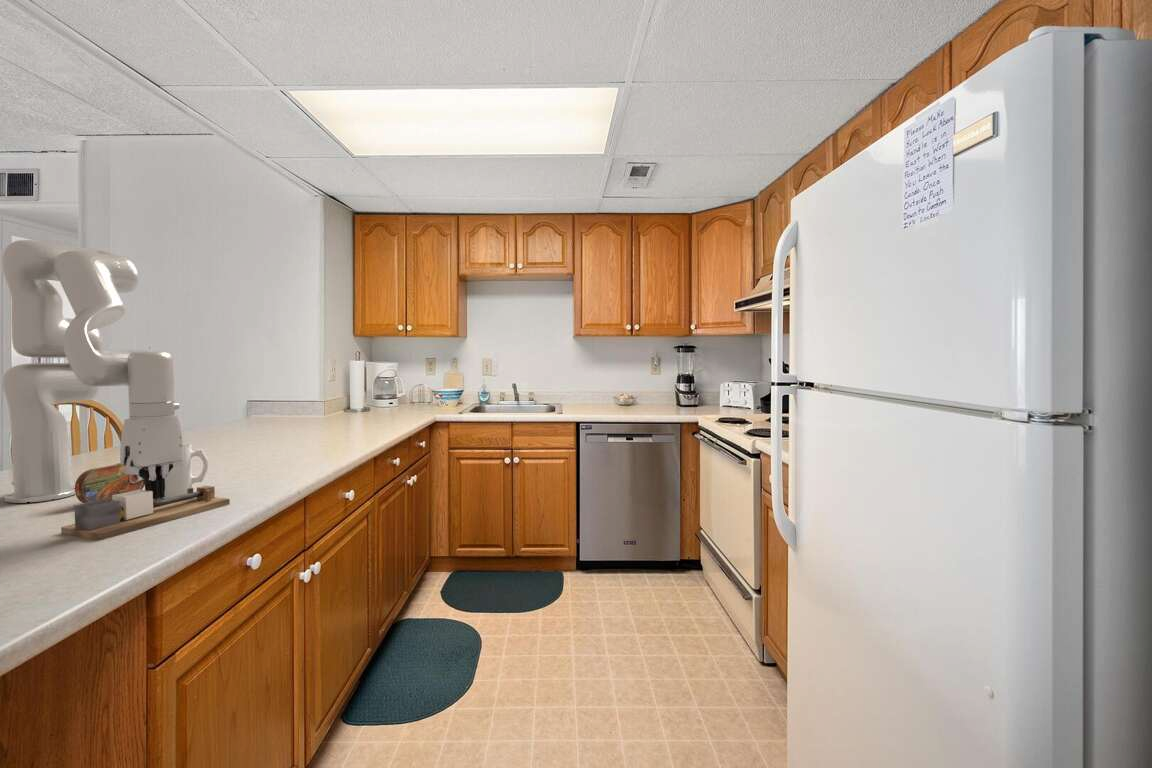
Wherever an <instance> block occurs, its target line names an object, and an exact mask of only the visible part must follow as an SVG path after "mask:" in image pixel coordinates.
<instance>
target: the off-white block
mask: <svg viewBox="0 0 1152 768" xmlns="http://www.w3.org/2000/svg"><path fill="white" fill-rule="evenodd" d="M112 500H116V501H119V507H121V508H122V509H124V519H125V520H128V519H131V518H135V517H139V516H143V515H147V514H151V513H153V502H154V499H153V491H146V490H145V489H142V490H135V491H130V492H126V493H121V494H116V495H112Z"/></svg>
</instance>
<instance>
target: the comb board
mask: <svg viewBox="0 0 1152 768" xmlns="http://www.w3.org/2000/svg"><path fill="white" fill-rule="evenodd" d="M230 502H231V501H230V498H225V497H217V496H216V497H215V486H214V485H213V486H212V485H201V486H198V487H197V486H196V491H194V487H192V488H188V489H187V494H185V495H181V496H177V497H172V498H168V499H160V500H157V501H153V513H151V514H147V515H143V516H139V517H135V518H131V519H128V520H125V519H124V509H122V508H121V507H119V501H116V500H109V499H101V500H97V501H92V502H88V503H79V504H74V505H73V506H74V507H73V508H74V511H73V512H74V523H72V524H68V525H64V526H61V527H60V532H61V534H62V533H63V534H64V535H69V536H74V537H80V538H86V539H92V540H97V541H101V540H105V539H109V538H112V537H116V536H120V535H122V534H126V533H130V532H134V531H138V530H141V528H142V529H145V528H148V526H149V527H152V526H155V524H156V525H159V524H158V523H160V524H163V523H166V521H167V522H170V521H174V520H176V519H180V518H181V519H182V518H185V517H189V516H191V515H196V514H198V513H199V514H200V513H203V512H207V511H209V510H213V508H214V509H218V508H221V507H224V505H225V506H228V505H230V504H231V503H230ZM217 507H218V508H217ZM188 515H189V516H188ZM162 522H163V523H162ZM151 525H152V526H151ZM144 527H145V528H144ZM63 534H62V535H63Z"/></svg>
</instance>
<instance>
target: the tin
mask: <svg viewBox="0 0 1152 768" xmlns="http://www.w3.org/2000/svg"><path fill="white" fill-rule="evenodd" d="M125 467H126V466H123V465H122V464H121V462H119V463H113V464H109V465H104V466H99V467H96V468H91V469H88V470H85V471H83V472H82V473H81V474H80V475H79V476H78V477H77V478H76V481H75V483H74V486H75V493H76V494H75V496H76V499H78V501H79V502H81V504H83V503H88V502H92V501H97V500H101V499H109V500H112V495H116V494H121V493H126V492H130V491H135V490H144V488H145V480H143V479H142V478H141V477H140V476H139V475H136V474H126V473H125ZM136 468H138V467H136Z"/></svg>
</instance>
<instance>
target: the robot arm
mask: <svg viewBox="0 0 1152 768" xmlns="http://www.w3.org/2000/svg"><path fill="white" fill-rule="evenodd" d="M1 264H2V266H1V267H2V272H3V275H4V278H5V281H6V283H7V286H8V288H9V292H10V297H11V338H12V339H11V342H12V346H13V349H14V350H15V352H16V353H17V354H18V355H20V356H23V357H27V358H28V357H29V358H44V359H45V358H53V359H54V358H58V359H59V358H66V360H67V361H68V362H66V363H65V362H61V363H60V362H41V363H40V362H35V363H34V362H33V363H21V364H17V365H15V366H12V367H10V368H8V369H7V370H6V371H5V372H4V373H3V376H2V388H3V391H4V394H5V395H4V396H5V399H6V403H7V405H8V411H9V419H10V420H9V421H10V437H11V452H12V454H11V455H12V457H11V458H12V471H13V473H12V474H13V481H11V485H12V486H13V492H11V493H8V494H6V495H5V496H4V501H5V502H6V503H9V502H10V504H27V502H30V503H40V502H46V501H54V500H59V499H64V498H67V497H71V496H74V495H76V493H75V485H71V482H70V478H71V477H70V459H69V458H70V457H69V454H70V453H69V438H68V437H69V436H68V435H69V434H68V423H67V422H68V421H67V419H66V418H65V416H64V415H63V413H62V412H61V411H59V409H58V408H57V407H55V406H54V404H59V403H73V402H76V403H77V402H84V401H85V402H86V401H90V400H93V399H95V398H97V397H98V395H99V394H100V393H101V391H102V388H103V387H118V386H119V387H120V386H127V388H128V410H129V411H128V416H129V418H125V419H124V421H123V425H122V430H121V437H120V447H119V448H120V451H119V453H120V455H119V460H120V463H121V464H122V465H123V466H126V467H125V473H126V474H136V475H139V476H140V477H141V478H142V479H143V480H145V485H144V490H146V491H153V500H157V499H162V498H163V497H164V496H165V478H167V476H168V473H169V472H170V471H171V469H172V468H174V467H177V466H179V465H181V464H182V461H181V458H182V457H183V444H184V443H183V441H184V440H183V433H182V428H181V424H180V420H179V416H178V415H176V414H175V413H176V410H179V409H180V404H179V403H178V402H176V401H175V385H174V384H175V383H174V382H175V380H174V378H175V377H174V358H173V356H172V354H171V353H169V352H167V351H156V350H155V351H152V350H151V351H149V350H142V349H141V350H140V349H139V350H138V349H135V350H134V349H132V350H131V349H103V338H102V334H101V332H100V329H101V328H103V327H106V326H109V325H112V324H114V323H117V322H119V320H121V319H122V318H123V316H125V313H126V306H125V304H124V302H123V299H122V298H121V296H120V294H119V293H122V294H126V293H131V292H133V291H134V290H136V288H137V287H138V284H139V282H140V281H139V280H140V279H139V277H140V276H139V272H138V269H137V268H136V265H134V263H133V262H132V261H131V260H130V259H129V258H126V257H124V256H121V255H117V254H114V253H111V252H107V251H104V250H99V249H96V248H95V249H94V248H90V247H83V246H76V245H70V244H69V245H68V244H63V243H57V242H51V241H44V240H34V239H33V240H32V239H27V240H26V239H23V240H22V239H20V240H15V241H12V242H11V243H9V244H8V245H6V247H5V249H4V250H3V253H2V257H1ZM50 281H56V282H60V284H61V287H62V290H63V291H64V293H65V295H66V298H67V300H68V302H69V304H70V306H71V308H72V310H73V313H74V315H75V317H74V318H68V317H65V318H64V315H63V308H64V307H63V298H62V296H61V294H60V293H59V291H58V290H57V289H56V288H55V287H54V285H53V284H52V283H51V282H50ZM136 467H138V468H136ZM53 499H54V500H53Z"/></svg>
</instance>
